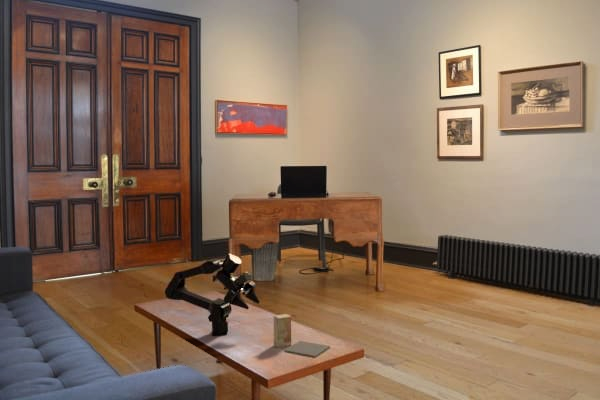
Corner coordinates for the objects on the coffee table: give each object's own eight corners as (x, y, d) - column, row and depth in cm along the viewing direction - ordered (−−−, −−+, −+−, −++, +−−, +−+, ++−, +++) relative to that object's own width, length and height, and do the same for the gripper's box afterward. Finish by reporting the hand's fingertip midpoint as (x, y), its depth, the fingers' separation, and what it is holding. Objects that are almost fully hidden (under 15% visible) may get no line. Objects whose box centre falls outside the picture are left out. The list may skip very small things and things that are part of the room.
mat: (284, 351, 216) (284, 350, 216) (300, 342, 226) (300, 340, 226) (315, 357, 208) (315, 355, 208) (330, 347, 219) (330, 346, 219)
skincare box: (278, 348, 219) (277, 318, 219) (273, 345, 223) (272, 315, 222) (292, 345, 222) (291, 315, 221) (287, 342, 226) (286, 313, 225)
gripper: (226, 271, 225) (252, 297, 221) (248, 263, 242) (274, 287, 237) (212, 291, 229) (238, 316, 224) (236, 281, 245) (260, 305, 241)
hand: (253, 305), depth 232 cm, fingers open, 9 cm apart
